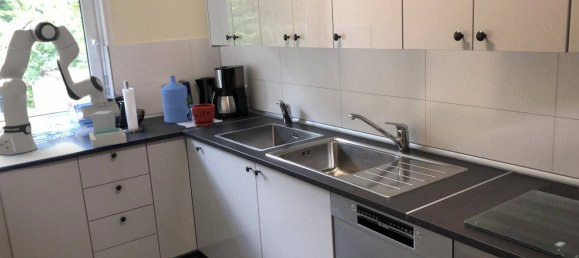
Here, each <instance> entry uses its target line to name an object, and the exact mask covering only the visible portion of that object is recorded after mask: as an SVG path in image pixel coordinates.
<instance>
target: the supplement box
mask: <svg viewBox="0 0 579 258" xmlns="http://www.w3.org/2000/svg"><path fill="white" fill-rule="evenodd" d="M91 121H92V126H93V134H94V136H95V135H96V134H95V131H100V130H107V129H114V128H117V127H116V121H115V117H114V113H113V111H98V112H96V113H93V114H92V120H91Z"/></svg>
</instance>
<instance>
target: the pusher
mask: <svg viewBox="0 0 579 258" xmlns="http://www.w3.org/2000/svg"><path fill="white" fill-rule="evenodd" d="M112 132H119V127H116V128H114V129H107V130H100V131H95V133H94V135H95V134H96V135H99V134H105V133H112Z"/></svg>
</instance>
